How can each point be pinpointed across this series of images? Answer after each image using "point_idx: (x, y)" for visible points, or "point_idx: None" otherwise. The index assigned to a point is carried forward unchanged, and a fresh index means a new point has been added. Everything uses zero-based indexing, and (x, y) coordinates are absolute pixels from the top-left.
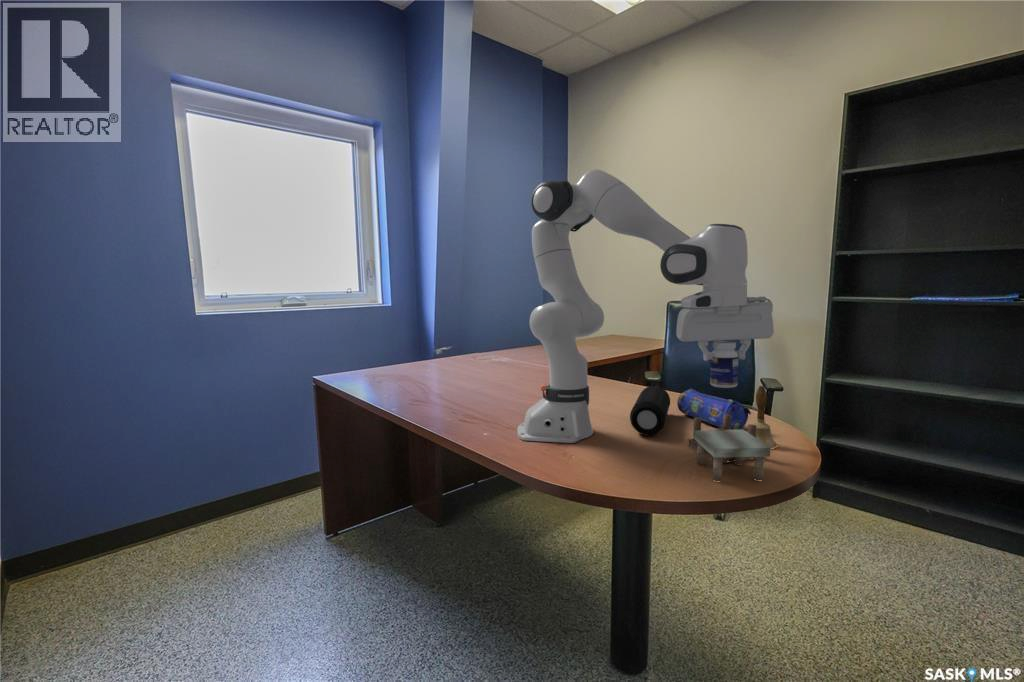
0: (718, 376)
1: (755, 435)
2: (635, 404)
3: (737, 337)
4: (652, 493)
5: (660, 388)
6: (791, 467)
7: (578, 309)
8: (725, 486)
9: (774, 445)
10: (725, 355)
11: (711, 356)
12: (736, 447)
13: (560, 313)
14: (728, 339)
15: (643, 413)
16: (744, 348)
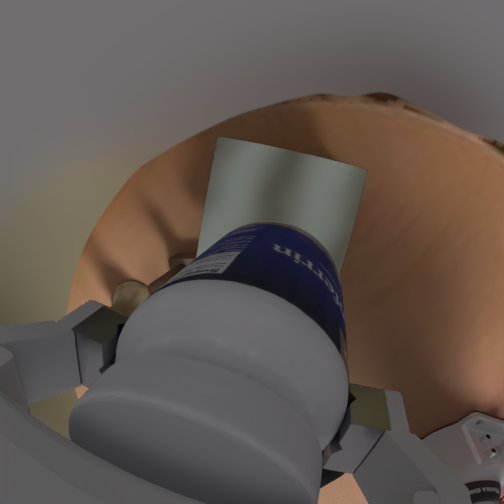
0: (334, 276)
1: (162, 275)
2: (331, 481)
3: (15, 426)
4: (487, 173)
5: None
6: (151, 197)
7: None
8: (340, 151)
9: (122, 286)
10: (286, 319)
11: (362, 404)
12: (303, 160)
13: None
14: (142, 482)
15: None
16: (42, 338)
